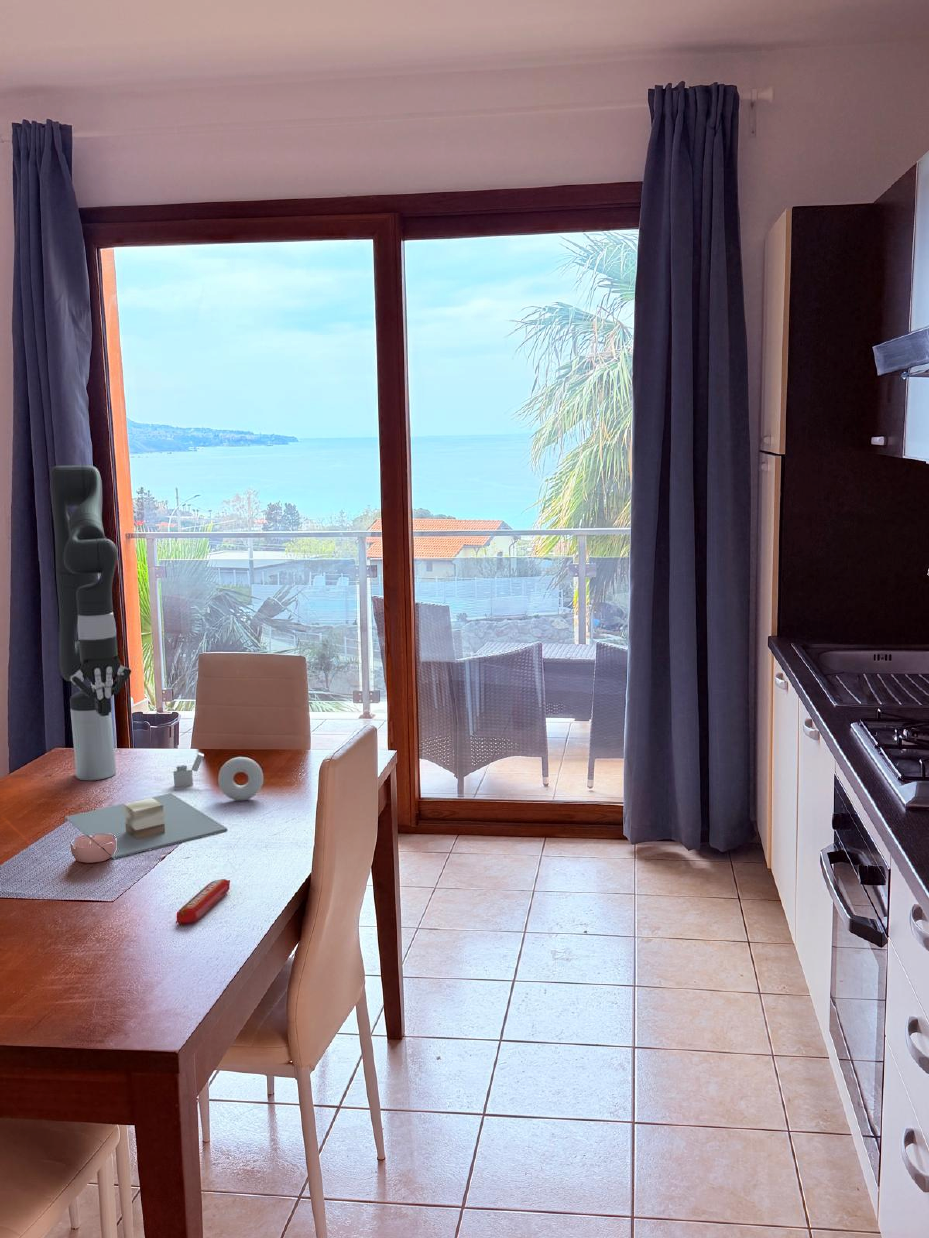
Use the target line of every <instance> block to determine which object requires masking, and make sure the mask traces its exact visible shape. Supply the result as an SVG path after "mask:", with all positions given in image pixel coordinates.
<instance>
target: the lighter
mask: <svg viewBox="0 0 929 1238" xmlns="http://www.w3.org/2000/svg"><path fill="white" fill-rule="evenodd" d="M204 756H205V754H204V753H202V752H198V753H197V755H196V758H195V760H194V762H193V765H192V767H188V765H187V764H179V765H177V766H176V768H175V769H173V771H172V772H173V782H174V783H173V785H174V786H173V787H174V788H180V787H194V777H193V771H194V772H198V770H199V768H200V766H201V764H202V761H203V758H204Z"/></svg>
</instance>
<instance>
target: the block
mask: <svg viewBox="0 0 929 1238" xmlns="http://www.w3.org/2000/svg"><path fill="white" fill-rule="evenodd" d="M143 799H144V800H142V799H138V800H139V801H138V800H135V802H133V801H130V802H131V803H129V802H125V803H126V804H124V803H123V804H124V813H125V825H126V832H127V833H128V834H130V835H131V836H132V837H134V838H135V839H136V840H138V839H142V838H146V837H150V836H155V835H159V834H163V833H165V825H164V811H163V805H162V804H161V803H159V802H158V801H156V800H155V799H153V798H151V797H148V799H147V798H143Z"/></svg>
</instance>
